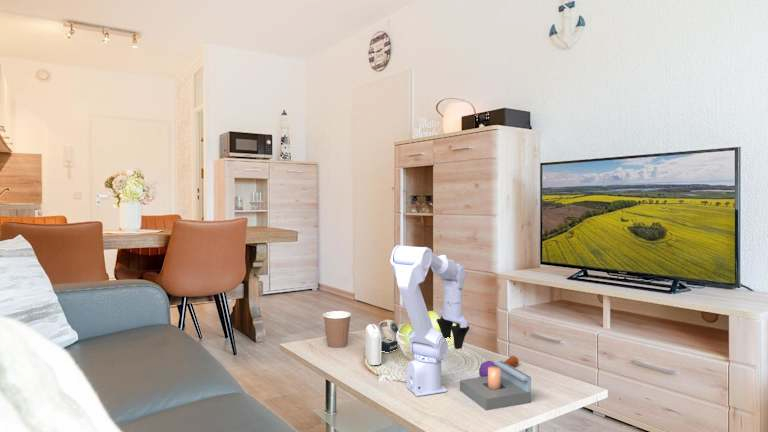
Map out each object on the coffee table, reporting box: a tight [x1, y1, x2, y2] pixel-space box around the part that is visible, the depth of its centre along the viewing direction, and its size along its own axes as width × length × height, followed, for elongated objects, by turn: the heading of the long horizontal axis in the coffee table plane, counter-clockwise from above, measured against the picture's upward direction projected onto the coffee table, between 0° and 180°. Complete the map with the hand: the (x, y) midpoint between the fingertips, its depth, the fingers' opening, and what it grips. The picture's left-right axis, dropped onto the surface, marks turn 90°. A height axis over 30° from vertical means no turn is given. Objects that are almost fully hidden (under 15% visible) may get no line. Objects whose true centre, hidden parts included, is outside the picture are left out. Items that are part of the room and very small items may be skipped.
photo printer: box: [364, 323, 382, 366], centre depth 169 cm, size 10×4×12 cm, turn 13°
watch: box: [377, 319, 400, 352], centre depth 181 cm, size 6×8×11 cm
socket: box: [459, 360, 532, 411], centre depth 140 cm, size 14×14×7 cm
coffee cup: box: [322, 310, 352, 350], centre depth 185 cm, size 10×10×12 cm
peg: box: [488, 366, 501, 390], centre depth 140 cm, size 4×4×8 cm
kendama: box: [478, 355, 520, 377], centre depth 158 cm, size 6×6×20 cm
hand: (452, 344), depth 157 cm, fingers open, 7 cm apart
